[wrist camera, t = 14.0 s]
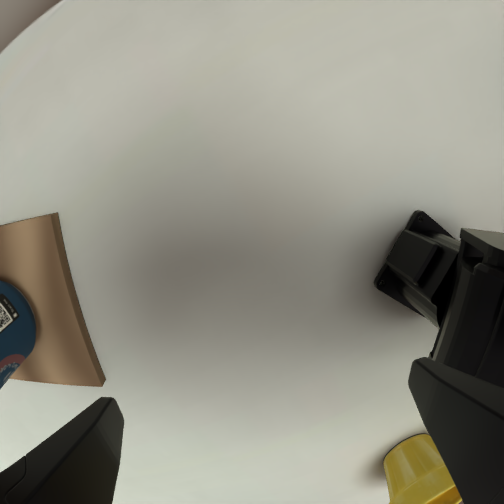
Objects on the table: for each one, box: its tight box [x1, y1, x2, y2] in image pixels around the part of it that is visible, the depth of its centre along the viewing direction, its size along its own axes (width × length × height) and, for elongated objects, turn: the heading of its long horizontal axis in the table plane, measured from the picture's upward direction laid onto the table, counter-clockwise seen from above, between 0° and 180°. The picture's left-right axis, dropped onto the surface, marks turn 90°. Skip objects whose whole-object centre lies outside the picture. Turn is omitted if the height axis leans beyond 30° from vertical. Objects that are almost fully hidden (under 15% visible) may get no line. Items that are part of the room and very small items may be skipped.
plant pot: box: [383, 434, 462, 504], centre depth 24 cm, size 10×10×10 cm
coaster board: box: [0, 213, 106, 387], centre depth 20 cm, size 14×14×1 cm
